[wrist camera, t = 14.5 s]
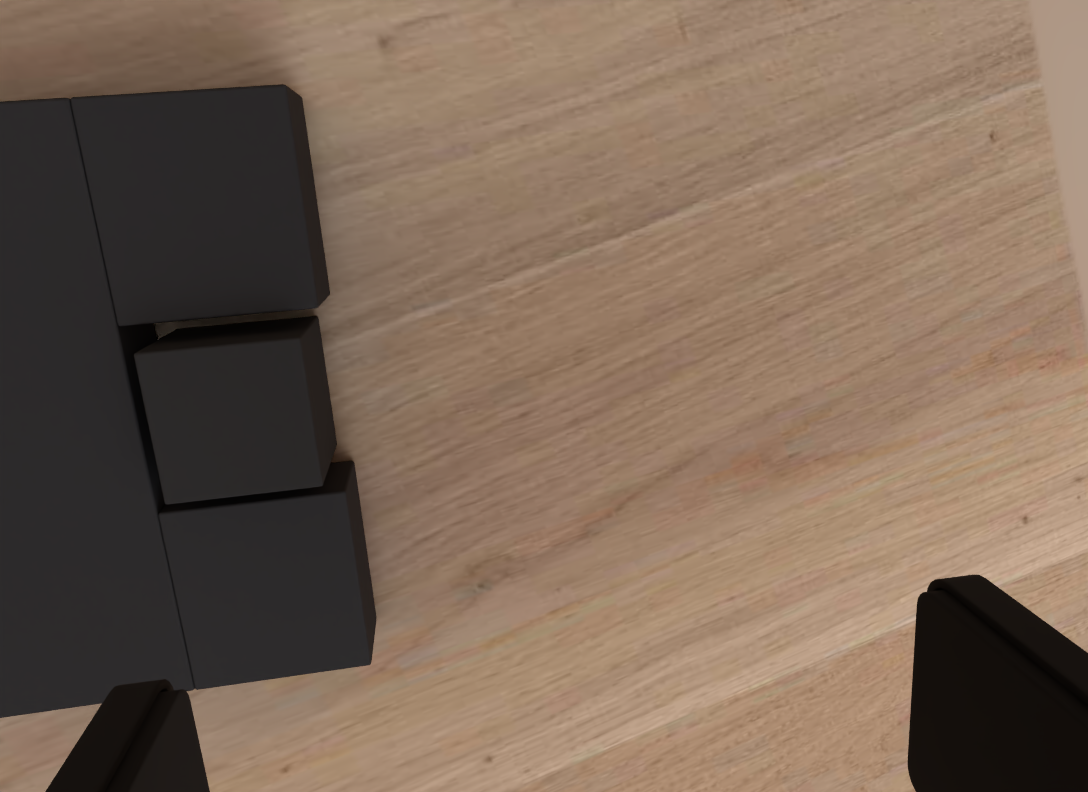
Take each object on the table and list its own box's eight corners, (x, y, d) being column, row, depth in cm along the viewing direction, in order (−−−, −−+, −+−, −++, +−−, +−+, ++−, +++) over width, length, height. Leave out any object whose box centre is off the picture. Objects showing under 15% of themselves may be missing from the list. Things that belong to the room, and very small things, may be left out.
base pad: (-352, 137, 23) (-464, 129, 20) (301, 96, 25) (285, 83, 22) (-161, 693, 27) (-230, 751, 25) (377, 619, 30) (371, 665, 27)
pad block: (175, 329, 26) (132, 353, 22) (318, 315, 27) (300, 337, 23) (201, 460, 27) (164, 505, 23) (337, 445, 28) (323, 487, 24)
